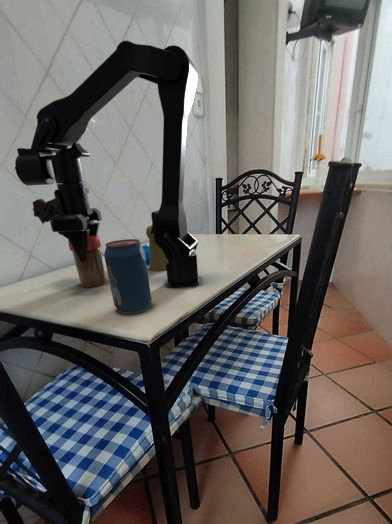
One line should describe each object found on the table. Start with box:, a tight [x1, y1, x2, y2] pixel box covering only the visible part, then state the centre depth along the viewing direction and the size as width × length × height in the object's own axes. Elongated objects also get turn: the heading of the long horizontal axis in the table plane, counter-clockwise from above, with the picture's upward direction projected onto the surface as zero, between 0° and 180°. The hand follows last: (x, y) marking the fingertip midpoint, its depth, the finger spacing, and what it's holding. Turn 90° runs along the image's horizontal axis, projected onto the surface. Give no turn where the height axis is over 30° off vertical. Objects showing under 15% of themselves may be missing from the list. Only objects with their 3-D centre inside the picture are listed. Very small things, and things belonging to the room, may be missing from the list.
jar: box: [71, 247, 108, 288], centre depth 74 cm, size 6×6×10 cm
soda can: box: [103, 238, 152, 315], centre depth 56 cm, size 7×7×12 cm
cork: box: [145, 224, 168, 272], centre depth 83 cm, size 6×6×11 cm
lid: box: [67, 235, 102, 252], centre depth 72 cm, size 7×7×2 cm
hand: (87, 258), depth 73 cm, fingers closed on lid, 6 cm apart
